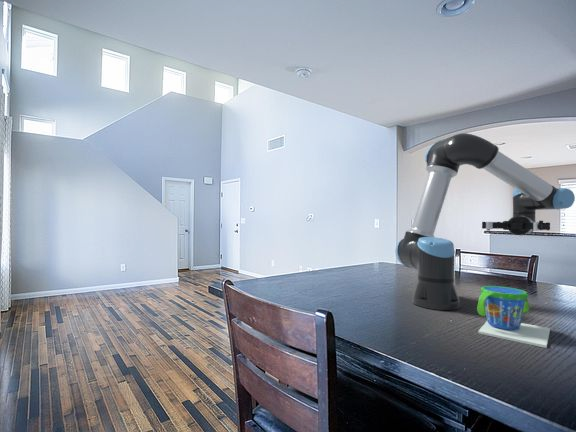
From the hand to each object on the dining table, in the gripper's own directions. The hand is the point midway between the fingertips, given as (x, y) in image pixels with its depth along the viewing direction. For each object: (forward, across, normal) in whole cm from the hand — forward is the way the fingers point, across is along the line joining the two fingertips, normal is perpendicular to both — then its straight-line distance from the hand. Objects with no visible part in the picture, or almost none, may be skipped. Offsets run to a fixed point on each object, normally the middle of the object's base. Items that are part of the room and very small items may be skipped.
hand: (509, 226), depth 109 cm
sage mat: (+28, -6, -28) cm, 40 cm away
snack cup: (+27, -3, -28) cm, 39 cm away
